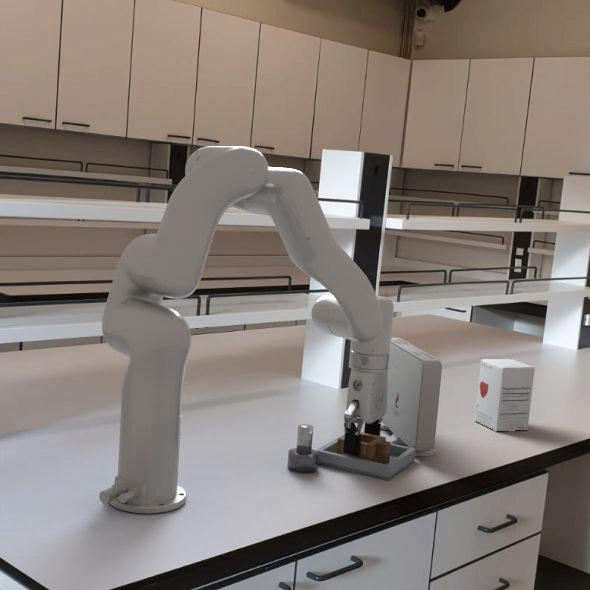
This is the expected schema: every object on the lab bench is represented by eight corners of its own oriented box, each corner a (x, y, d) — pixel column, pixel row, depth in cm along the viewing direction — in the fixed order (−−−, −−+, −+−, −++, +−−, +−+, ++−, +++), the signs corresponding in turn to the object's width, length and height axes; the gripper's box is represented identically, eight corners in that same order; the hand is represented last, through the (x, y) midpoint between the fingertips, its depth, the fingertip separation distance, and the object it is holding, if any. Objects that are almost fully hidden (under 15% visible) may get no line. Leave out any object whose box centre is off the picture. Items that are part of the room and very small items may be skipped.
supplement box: (473, 421, 202) (479, 358, 200) (505, 420, 205) (511, 358, 203) (495, 432, 194) (502, 367, 192) (528, 431, 197) (536, 366, 195)
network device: (364, 423, 193) (372, 335, 191) (401, 424, 195) (409, 336, 193) (404, 461, 168) (413, 360, 166) (446, 461, 171) (455, 361, 168)
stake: (309, 475, 156) (312, 432, 155) (282, 468, 159) (285, 426, 158) (322, 467, 161) (326, 425, 160) (296, 461, 164) (299, 420, 163)
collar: (393, 459, 167) (395, 439, 167) (380, 468, 161) (381, 448, 161) (351, 449, 171) (352, 430, 171) (336, 458, 165) (337, 438, 165)
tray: (388, 480, 157) (390, 467, 156) (314, 463, 163) (315, 450, 163) (414, 461, 169) (415, 448, 169) (344, 445, 176) (345, 433, 176)
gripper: (370, 371, 155) (362, 463, 157) (403, 357, 170) (395, 441, 172) (332, 364, 158) (324, 455, 160) (368, 351, 174) (361, 434, 176)
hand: (361, 448), depth 166 cm, fingers open, 9 cm apart
